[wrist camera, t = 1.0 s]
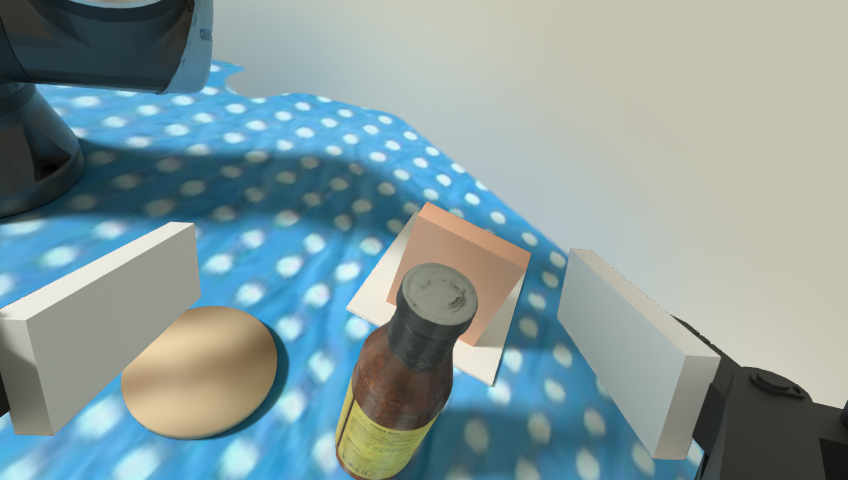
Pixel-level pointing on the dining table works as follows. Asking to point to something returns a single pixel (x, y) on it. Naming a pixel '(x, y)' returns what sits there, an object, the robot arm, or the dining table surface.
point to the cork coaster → (201, 374)
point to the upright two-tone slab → (464, 261)
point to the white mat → (465, 357)
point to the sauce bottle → (404, 373)
